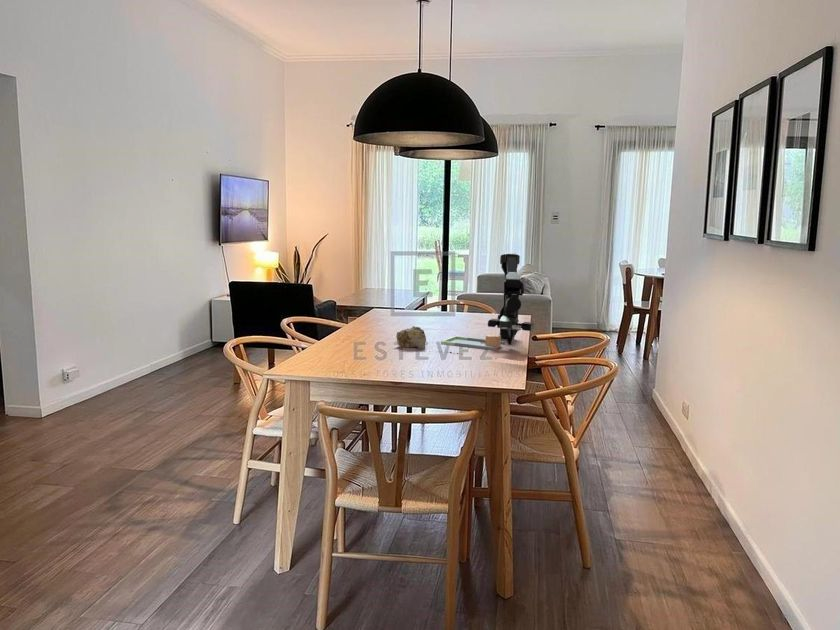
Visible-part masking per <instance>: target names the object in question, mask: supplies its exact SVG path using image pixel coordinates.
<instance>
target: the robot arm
mask: <svg viewBox="0 0 840 630" xmlns="http://www.w3.org/2000/svg"><path fill="white" fill-rule="evenodd" d="M520 258H521V256H520V255H518V253H515V252H514V253H513V252H508V253H502V254H501V255H500V258H499V264H500V265H501V266H500V267H501V270H502V272H503V275H504V277H503V286H502V287H503V291H502V292H503V296H502V297H503V300H502V302H503V303H502V306H501V308H500V309H499V313H498V314H497V318H490V319H489V320H487V327H489V328H496V327H497V328H498V329H499V335H501V340H502V339H503V340H506V341H507V344H508V345H509V346H511V345H512V344H513V341H514V340H515V337H516V335H517V333H518V332H519V331H521V330H522V331H528V332H530V331H533V330H535V323H534V322H531V321H524V322H522V323H521V322H519V321H520V320H519V313H520V309H521V307H522V301H521V300H520V296H523V294H524V293H525V287H524V285H525V284H524V283H523V281H522V280H521V275H519V274H518V266H519V265H520Z"/></svg>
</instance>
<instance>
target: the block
mask: <svg viewBox="0 0 840 630" xmlns="http://www.w3.org/2000/svg"><path fill="white" fill-rule="evenodd" d="M485 339H486V342H484V344H485V346H490V347H494V348H497V347H499V346H501V341H502V339H501V335H500V334H499V335H498V334H492V333H491V334H488V335H486V336H485ZM501 347H502V346H501ZM499 348H500V347H499ZM497 349H498V348H497Z"/></svg>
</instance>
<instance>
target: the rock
mask: <svg viewBox="0 0 840 630" xmlns="http://www.w3.org/2000/svg"><path fill="white" fill-rule="evenodd" d="M396 342H397V345H398V347H401V346H402V348H413V347H414V348H415V347H416V348H418V349H423V350H424V349H426V342H427V336H426V333H425V330H424V329H422V328H421V327H418V326H414V325H413V326H412V327H411V328H405V329H402V330H400V331H398V332H396Z"/></svg>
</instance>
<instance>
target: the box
mask: <svg viewBox="0 0 840 630" xmlns="http://www.w3.org/2000/svg"><path fill="white" fill-rule="evenodd" d="M485 343H486V338H478V337H477V338H476V337H467V336H460V335H454V336H451V337H449V338H446V339H443V340H441V341H440V345H449V346H457V347H464V348H471V349H473V348H474V349H482V350H489V351H495V350H497V349H498V348H501V347H502V346H504V345H506V341H505V340H504V341H503V340H501V346H499V347H497V348H494V347H490V346H485Z"/></svg>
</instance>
